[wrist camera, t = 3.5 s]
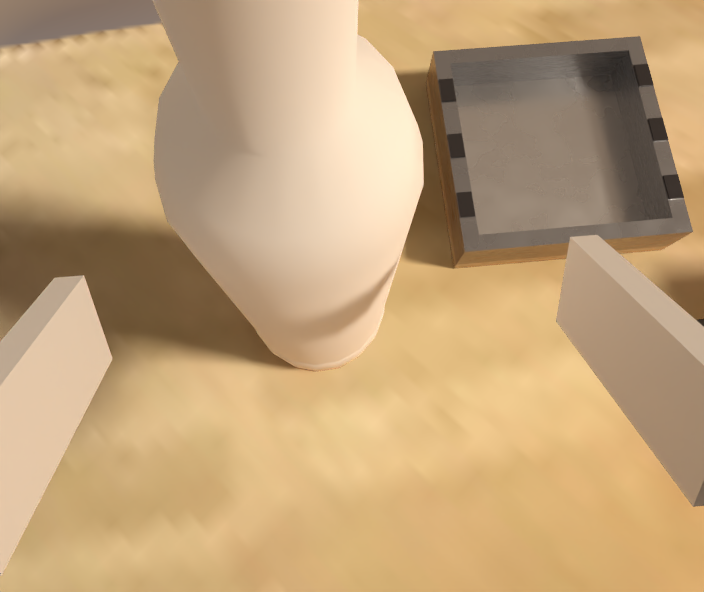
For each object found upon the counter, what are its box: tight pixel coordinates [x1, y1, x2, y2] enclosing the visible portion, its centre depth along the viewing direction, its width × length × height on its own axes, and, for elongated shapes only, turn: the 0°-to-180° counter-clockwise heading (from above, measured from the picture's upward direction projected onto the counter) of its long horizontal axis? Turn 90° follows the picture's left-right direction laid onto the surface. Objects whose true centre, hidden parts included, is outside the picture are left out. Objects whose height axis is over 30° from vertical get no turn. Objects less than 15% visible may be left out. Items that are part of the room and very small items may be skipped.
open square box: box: [426, 36, 693, 268], centre depth 36 cm, size 14×14×3 cm
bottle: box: [152, 0, 424, 371], centre depth 20 cm, size 8×8×30 cm
